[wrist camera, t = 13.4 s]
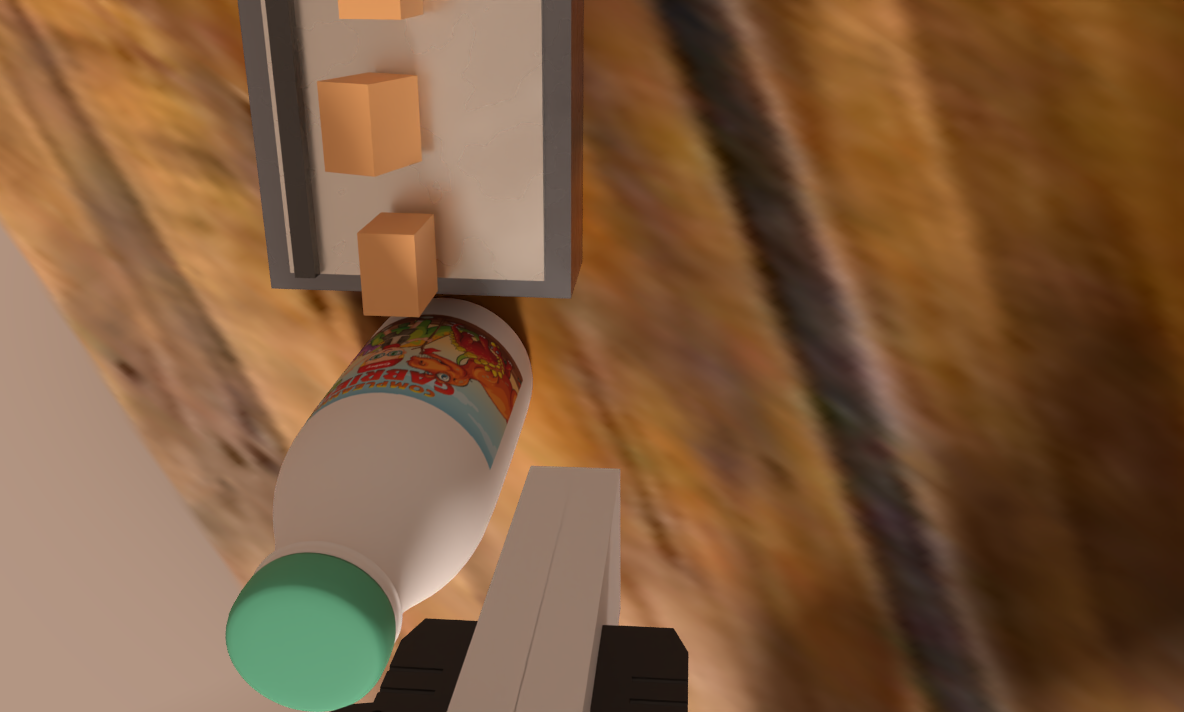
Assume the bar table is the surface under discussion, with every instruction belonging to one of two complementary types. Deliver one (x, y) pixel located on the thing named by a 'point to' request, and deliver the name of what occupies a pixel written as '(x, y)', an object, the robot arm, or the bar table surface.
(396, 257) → the tan wooden block
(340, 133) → the small orange block
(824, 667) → the bar table surface
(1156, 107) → the bar table surface
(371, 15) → the orange tall rectangular block
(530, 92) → the gray rectangular tray
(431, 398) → the milk bottle
